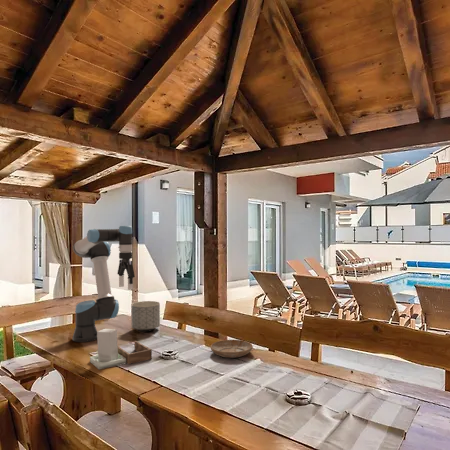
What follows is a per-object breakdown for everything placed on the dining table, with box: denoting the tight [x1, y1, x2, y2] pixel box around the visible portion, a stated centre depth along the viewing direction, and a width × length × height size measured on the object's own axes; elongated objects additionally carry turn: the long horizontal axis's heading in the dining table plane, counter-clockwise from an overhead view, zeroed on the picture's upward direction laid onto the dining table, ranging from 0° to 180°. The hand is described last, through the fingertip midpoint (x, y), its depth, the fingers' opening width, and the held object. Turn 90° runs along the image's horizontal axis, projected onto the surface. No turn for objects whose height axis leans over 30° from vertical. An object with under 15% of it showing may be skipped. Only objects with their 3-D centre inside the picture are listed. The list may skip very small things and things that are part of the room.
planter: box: [130, 300, 161, 333], centre depth 260 cm, size 19×19×18 cm
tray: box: [89, 353, 127, 370], centre depth 197 cm, size 14×14×3 cm
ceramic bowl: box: [210, 339, 253, 359], centre depth 210 cm, size 23×24×5 cm
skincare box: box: [96, 328, 119, 362], centre depth 198 cm, size 8×7×16 cm
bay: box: [118, 340, 153, 365], centre depth 207 cm, size 20×13×5 cm, turn 37°
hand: (125, 288), depth 223 cm, fingers open, 13 cm apart
